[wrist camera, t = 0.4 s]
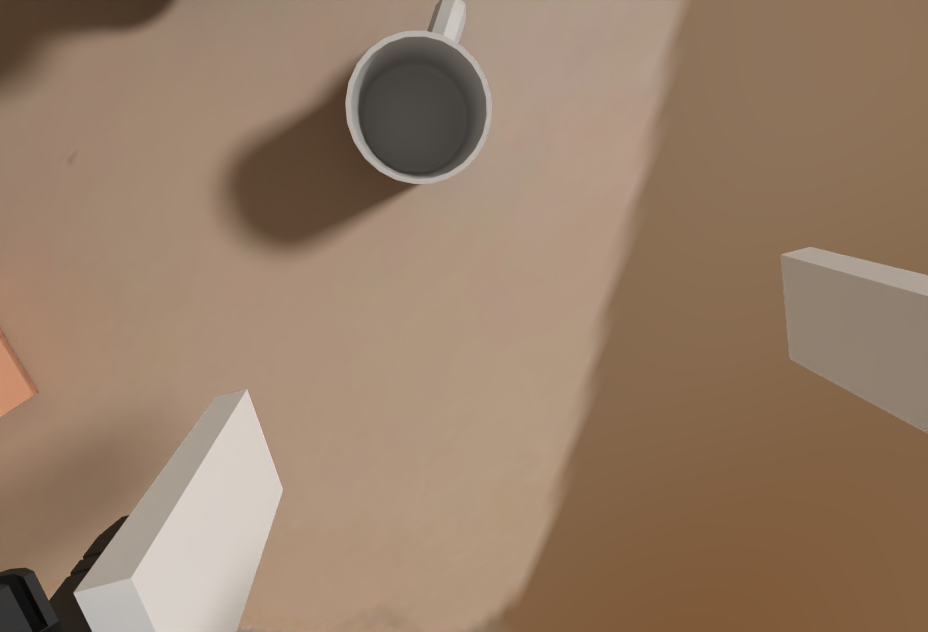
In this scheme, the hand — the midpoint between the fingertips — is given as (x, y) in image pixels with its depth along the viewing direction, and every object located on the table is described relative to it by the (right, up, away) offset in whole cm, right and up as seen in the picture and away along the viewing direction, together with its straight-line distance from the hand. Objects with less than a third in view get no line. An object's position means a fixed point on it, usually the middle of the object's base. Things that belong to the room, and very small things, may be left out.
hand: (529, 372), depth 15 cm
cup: (-4, +15, +24) cm, 29 cm away
